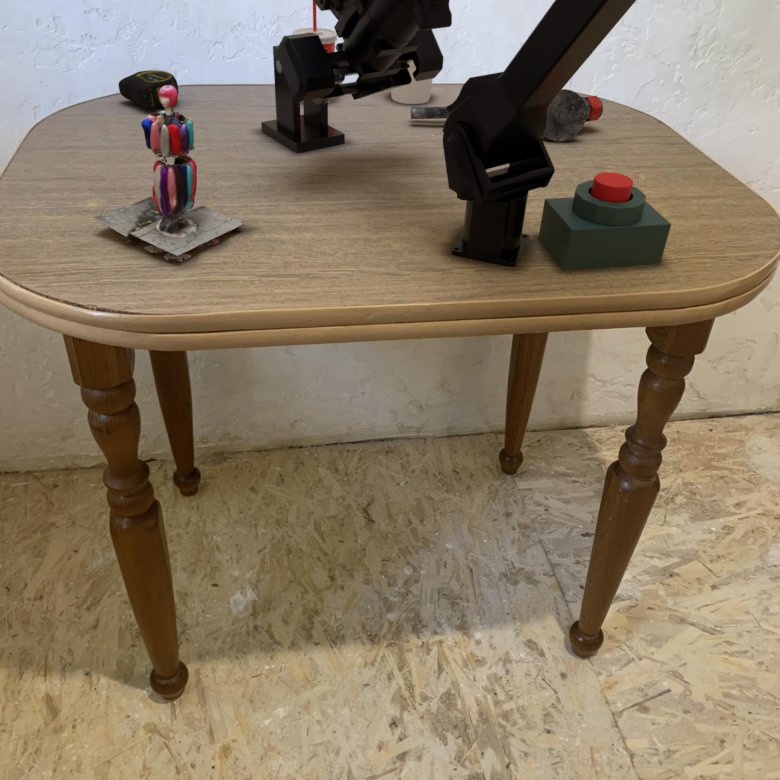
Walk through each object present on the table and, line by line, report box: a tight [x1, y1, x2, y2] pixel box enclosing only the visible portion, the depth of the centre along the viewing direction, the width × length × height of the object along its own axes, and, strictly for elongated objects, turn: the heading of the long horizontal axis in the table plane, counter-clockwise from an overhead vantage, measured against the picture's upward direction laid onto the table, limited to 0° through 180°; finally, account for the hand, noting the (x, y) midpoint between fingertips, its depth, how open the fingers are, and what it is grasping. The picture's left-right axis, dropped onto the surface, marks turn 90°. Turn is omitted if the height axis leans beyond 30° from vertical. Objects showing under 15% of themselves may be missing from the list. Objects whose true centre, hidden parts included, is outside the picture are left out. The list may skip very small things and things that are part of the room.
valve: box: [410, 88, 604, 142], centre depth 106 cm, size 6×26×15 cm
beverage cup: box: [292, 0, 338, 104], centre depth 107 cm, size 6×6×14 cm
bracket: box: [260, 44, 346, 154], centre depth 96 cm, size 9×7×11 cm
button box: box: [538, 179, 672, 271], centre depth 75 cm, size 10×7×6 cm
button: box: [591, 171, 634, 203], centre depth 73 cm, size 4×4×2 cm
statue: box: [93, 85, 246, 262], centre depth 72 cm, size 11×9×15 cm
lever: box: [340, 81, 362, 96], centre depth 91 cm, size 11×5×2 cm, turn 36°
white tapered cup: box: [390, 60, 433, 105], centre depth 112 cm, size 7×7×7 cm
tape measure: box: [118, 69, 179, 109], centre depth 106 cm, size 7×7×4 cm
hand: (334, 99), depth 90 cm, fingers closed on lever, 5 cm apart
